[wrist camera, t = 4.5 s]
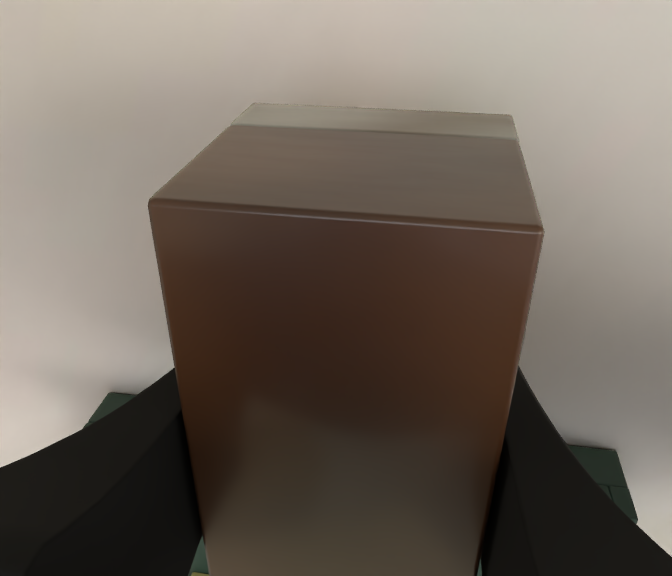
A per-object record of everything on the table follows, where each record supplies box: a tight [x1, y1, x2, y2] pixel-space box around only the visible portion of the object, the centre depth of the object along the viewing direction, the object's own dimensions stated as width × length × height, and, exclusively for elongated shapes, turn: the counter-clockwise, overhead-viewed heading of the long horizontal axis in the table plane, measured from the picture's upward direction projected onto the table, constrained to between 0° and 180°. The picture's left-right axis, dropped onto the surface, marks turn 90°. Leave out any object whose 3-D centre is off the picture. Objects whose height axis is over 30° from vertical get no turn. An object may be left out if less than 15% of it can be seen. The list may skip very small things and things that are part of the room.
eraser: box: [148, 103, 544, 576], centre depth 12 cm, size 5×11×5 cm, turn 0°
